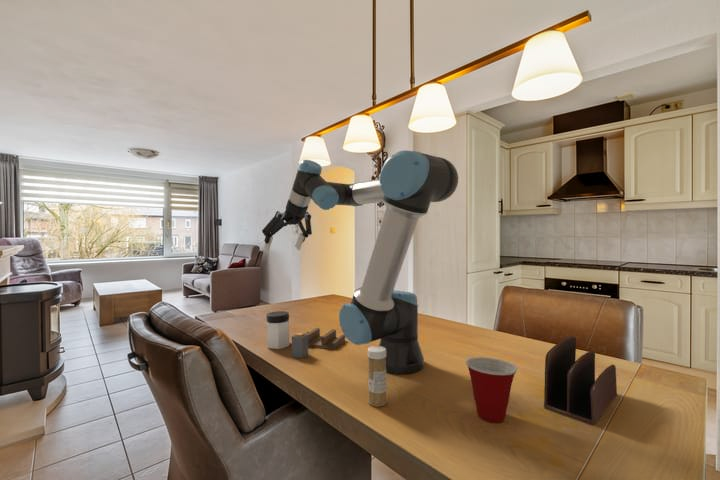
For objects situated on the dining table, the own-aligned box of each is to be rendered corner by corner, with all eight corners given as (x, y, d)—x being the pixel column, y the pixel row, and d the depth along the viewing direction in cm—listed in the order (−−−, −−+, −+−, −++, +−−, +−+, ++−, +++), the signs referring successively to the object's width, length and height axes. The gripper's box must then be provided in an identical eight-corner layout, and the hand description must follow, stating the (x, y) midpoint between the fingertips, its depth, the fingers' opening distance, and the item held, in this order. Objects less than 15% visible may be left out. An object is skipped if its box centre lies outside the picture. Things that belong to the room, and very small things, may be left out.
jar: (273, 351, 120) (272, 317, 120) (262, 345, 126) (261, 313, 126) (294, 345, 126) (294, 313, 126) (283, 340, 132) (282, 309, 132)
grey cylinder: (308, 354, 117) (307, 332, 116) (302, 358, 113) (302, 335, 113) (297, 353, 118) (297, 331, 118) (292, 357, 114) (291, 334, 114)
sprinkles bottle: (367, 398, 85) (366, 345, 84) (385, 397, 85) (384, 344, 85) (369, 408, 80) (368, 351, 80) (388, 407, 80) (387, 351, 80)
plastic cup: (524, 414, 76) (524, 361, 76) (508, 436, 68) (507, 377, 68) (477, 398, 84) (477, 350, 83) (457, 417, 76) (457, 364, 75)
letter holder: (543, 409, 79) (543, 349, 78) (572, 383, 92) (572, 331, 92) (594, 427, 71) (593, 360, 71) (617, 396, 84) (617, 339, 84)
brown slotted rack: (345, 340, 130) (344, 330, 130) (334, 349, 121) (334, 338, 121) (307, 337, 136) (307, 327, 135) (295, 345, 126) (295, 334, 126)
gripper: (321, 198, 133) (304, 242, 142) (262, 194, 116) (248, 244, 125) (331, 208, 128) (313, 252, 138) (271, 206, 111) (255, 256, 121)
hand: (282, 248), depth 132 cm, fingers open, 13 cm apart
